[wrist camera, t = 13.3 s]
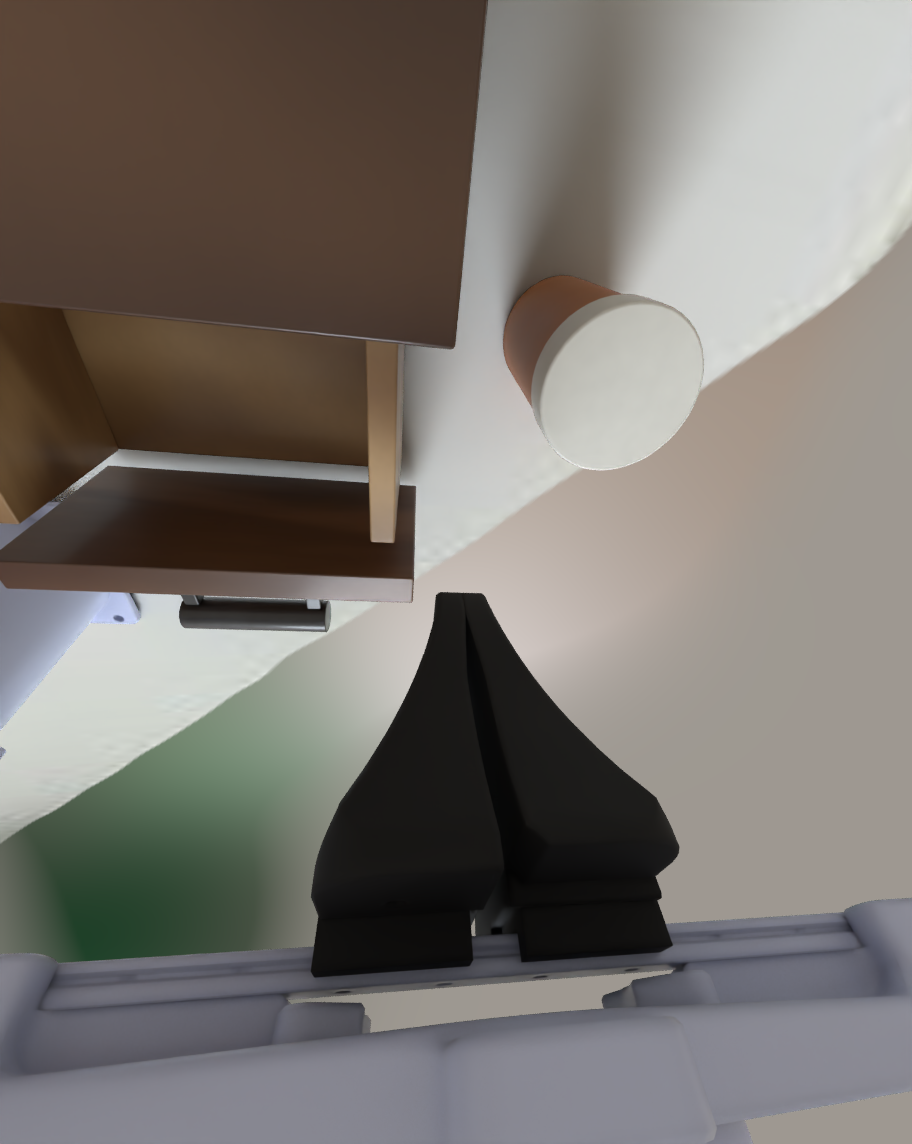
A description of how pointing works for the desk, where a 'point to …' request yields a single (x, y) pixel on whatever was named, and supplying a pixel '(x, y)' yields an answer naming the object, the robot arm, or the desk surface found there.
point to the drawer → (202, 499)
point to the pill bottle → (602, 369)
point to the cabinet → (241, 161)
